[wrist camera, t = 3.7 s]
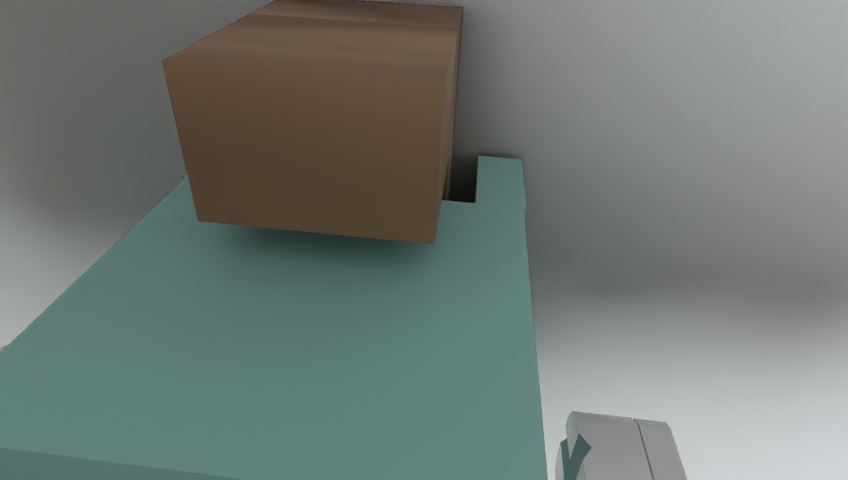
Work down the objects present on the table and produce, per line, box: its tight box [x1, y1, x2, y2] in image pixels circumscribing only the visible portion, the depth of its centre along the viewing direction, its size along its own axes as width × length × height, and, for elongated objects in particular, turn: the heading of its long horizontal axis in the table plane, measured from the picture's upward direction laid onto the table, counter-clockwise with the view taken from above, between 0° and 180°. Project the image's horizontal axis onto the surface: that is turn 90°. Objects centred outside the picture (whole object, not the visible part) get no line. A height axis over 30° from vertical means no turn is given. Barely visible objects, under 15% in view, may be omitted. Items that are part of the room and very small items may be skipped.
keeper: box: [0, 156, 548, 480], centre depth 9 cm, size 6×6×7 cm
